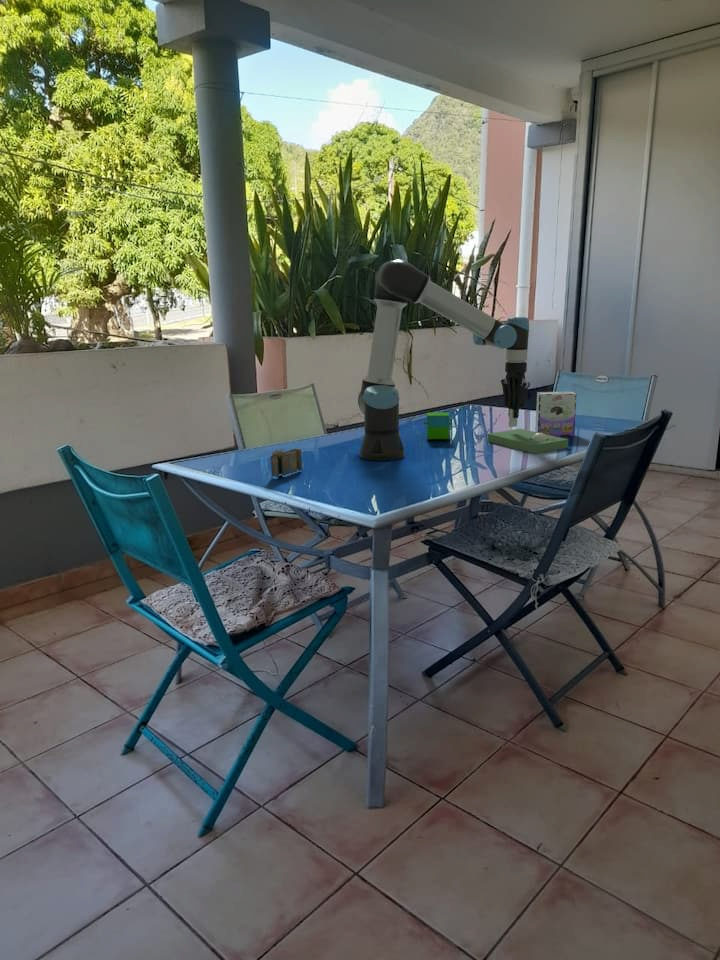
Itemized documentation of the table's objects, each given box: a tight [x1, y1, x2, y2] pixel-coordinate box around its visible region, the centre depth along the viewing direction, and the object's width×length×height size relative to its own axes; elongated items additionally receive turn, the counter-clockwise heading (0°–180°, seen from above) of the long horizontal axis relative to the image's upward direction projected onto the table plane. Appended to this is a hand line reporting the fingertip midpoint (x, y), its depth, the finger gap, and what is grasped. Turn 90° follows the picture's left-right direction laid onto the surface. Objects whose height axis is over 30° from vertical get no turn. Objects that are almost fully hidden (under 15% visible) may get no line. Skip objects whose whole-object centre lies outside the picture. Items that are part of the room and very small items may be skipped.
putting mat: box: [486, 428, 569, 454], centre depth 240 cm, size 16×24×3 cm, turn 30°
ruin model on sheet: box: [270, 448, 303, 478], centre depth 205 cm, size 11×3×10 cm, turn 145°
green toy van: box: [424, 412, 452, 442], centre depth 253 cm, size 10×13×10 cm
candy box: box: [534, 391, 577, 437], centre depth 252 cm, size 14×6×16 cm, turn 84°
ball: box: [532, 433, 547, 441], centre depth 234 cm, size 5×5×5 cm
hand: (512, 426), depth 244 cm, fingers closed
